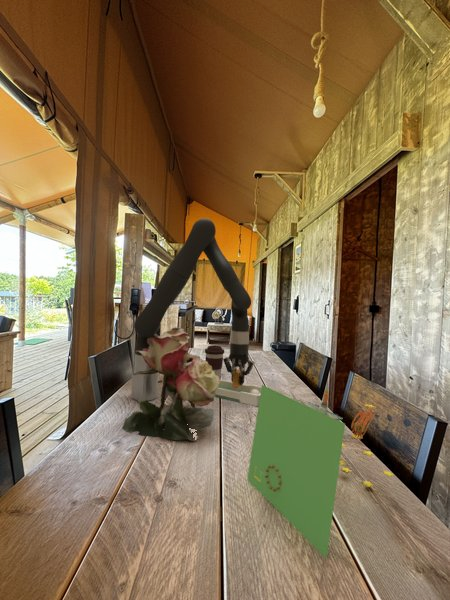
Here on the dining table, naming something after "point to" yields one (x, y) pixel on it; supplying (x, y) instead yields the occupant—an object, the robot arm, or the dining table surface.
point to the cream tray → (238, 393)
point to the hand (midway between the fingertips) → (237, 383)
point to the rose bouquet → (175, 389)
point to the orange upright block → (236, 382)
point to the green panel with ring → (301, 461)
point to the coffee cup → (215, 358)
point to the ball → (254, 391)
